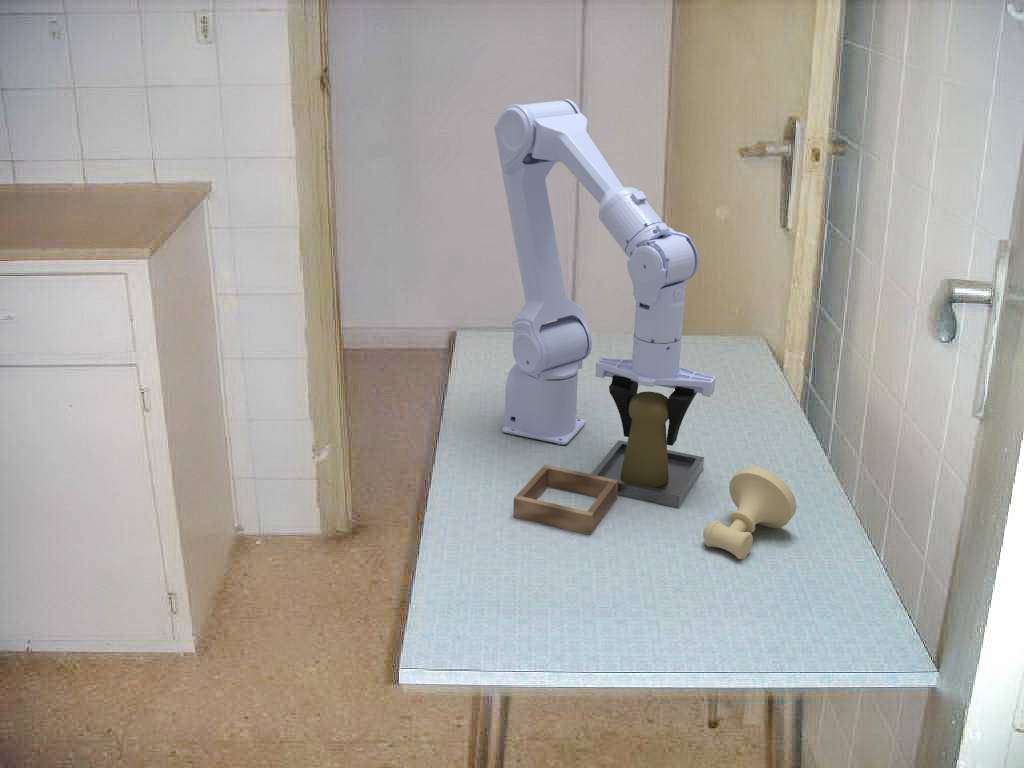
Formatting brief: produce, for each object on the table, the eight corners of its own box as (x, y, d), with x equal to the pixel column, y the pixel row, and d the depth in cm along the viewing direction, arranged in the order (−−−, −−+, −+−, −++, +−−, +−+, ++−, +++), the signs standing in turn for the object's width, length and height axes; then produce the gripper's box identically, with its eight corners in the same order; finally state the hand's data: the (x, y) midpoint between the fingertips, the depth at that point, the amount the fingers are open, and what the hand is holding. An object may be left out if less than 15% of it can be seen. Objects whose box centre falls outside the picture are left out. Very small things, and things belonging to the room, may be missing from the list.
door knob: (751, 535, 116) (687, 510, 120) (755, 586, 120) (693, 560, 125) (795, 480, 121) (732, 458, 126) (797, 530, 126) (736, 507, 130)
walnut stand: (513, 516, 128) (513, 498, 127) (544, 482, 136) (544, 464, 135) (590, 535, 124) (591, 515, 123) (617, 498, 132) (618, 480, 131)
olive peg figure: (677, 474, 137) (684, 393, 133) (655, 492, 132) (662, 409, 128) (634, 461, 140) (640, 382, 136) (611, 478, 135) (617, 397, 131)
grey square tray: (587, 488, 135) (588, 476, 134) (617, 450, 144) (618, 440, 144) (678, 508, 130) (679, 496, 130) (703, 468, 140) (704, 457, 140)
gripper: (589, 336, 129) (584, 439, 134) (708, 356, 124) (698, 462, 129) (608, 318, 135) (603, 418, 140) (723, 336, 130) (713, 439, 135)
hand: (649, 438), depth 135 cm, fingers closed on olive peg figure, 5 cm apart
